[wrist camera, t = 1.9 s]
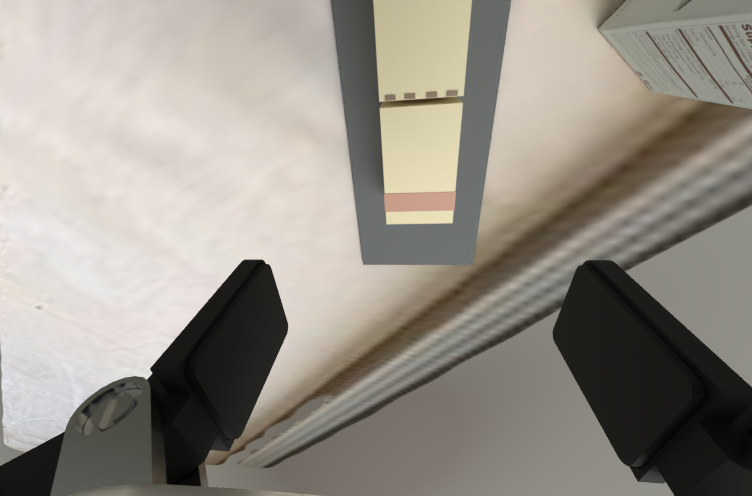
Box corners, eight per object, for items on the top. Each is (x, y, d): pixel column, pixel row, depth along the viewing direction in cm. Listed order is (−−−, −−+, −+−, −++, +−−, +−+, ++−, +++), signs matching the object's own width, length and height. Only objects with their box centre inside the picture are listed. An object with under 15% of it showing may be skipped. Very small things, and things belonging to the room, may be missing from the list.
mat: (311, -178, 17) (308, -184, 17) (540, -222, 16) (544, -230, 15) (363, 262, 35) (363, 264, 35) (471, 262, 34) (472, 264, 33)
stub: (385, 97, 24) (378, 108, 19) (452, 92, 24) (463, 102, 19) (389, 195, 29) (385, 224, 24) (445, 193, 29) (453, 223, 24)
